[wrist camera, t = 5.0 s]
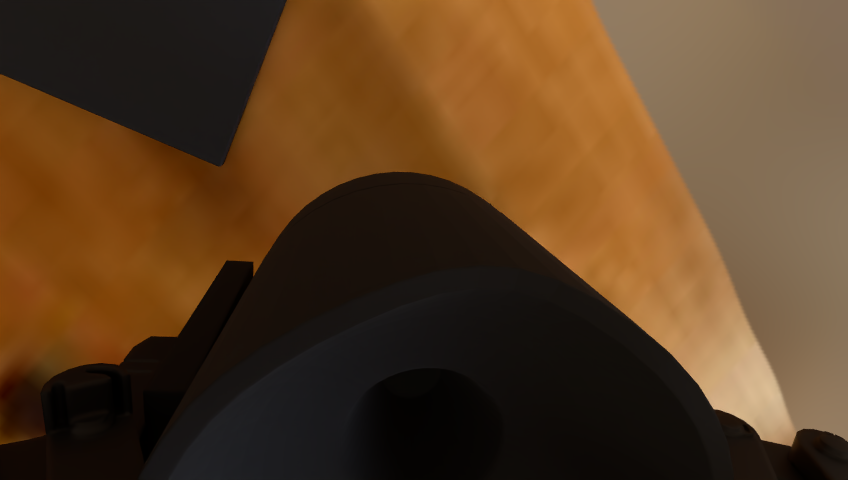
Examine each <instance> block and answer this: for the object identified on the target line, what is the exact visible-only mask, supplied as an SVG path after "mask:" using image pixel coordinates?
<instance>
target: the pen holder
mask: <svg viewBox="0 0 848 480" xmlns="http://www.w3.org/2000/svg"><path fill="white" fill-rule="evenodd" d="M137 480H734V472H733V466H732V461H731V455H730V450H729V445H728V442H727V439H726V437H725V434H724V432H723V429H722V427H721V424H720V421H719V419H718V416H717V414H716V413H715V411H714V409H713V408H712V406H711V405H710V403H709V401H708V400H707V398H706V396H705V395H704V393H703V392H702V390H701V388H700V387H699V385H698V384H697V383H696V382H695V381H694V380H693V378H692V377H691V376H690V375H689V374H688V373H687V372H686V370H685V369H684V368H683V367H682V366H681V365H680V364H679V362H678V361H677V360H676V359H675V358H674V357H673V356H672V355H671V354H670V353H669V352H668V351H667V350H666V349H665V348H663V347H662V346H661V345H660V344H659V343H658V342H656V341H655V340H654V339H653V338H652V337H651V336H649V335H648V334H647V333H646V332H645V331H644V330H642V329H641V328H640V327H639V326H638V325H637V324H636V323H634V322H633V321H632V320H631V319H630V318H628V317H627V316H626V315H625V314H624V313H622V312H621V311H620V310H619V309H618V308H616V307H615V306H614V305H613V304H611V303H610V302H609V301H608V300H607V299H605V298H604V297H603V296H602V295H601V294H599V293H598V292H597V291H596V290H595V289H593V288H592V287H591V286H590V285H589V284H587V283H586V282H585V281H584V280H583V279H581V278H580V277H579V276H578V275H576V274H575V273H574V272H573V271H572V270H570V269H569V268H568V267H567V266H566V265H564V264H563V263H562V262H561V261H560V260H558V259H557V258H556V257H555V256H554V255H552V254H551V253H550V252H549V251H547V250H546V249H545V248H544V247H543V246H541V245H540V244H539V243H538V242H537V241H535V240H534V239H533V238H532V237H530V236H529V235H528V234H527V233H526V232H524V231H523V230H522V229H521V228H520V227H518V226H517V225H516V224H515V223H514V222H512V221H511V220H510V219H509V218H507V217H506V216H505V215H504V214H502V213H501V212H499V211H498V210H497V209H495V208H494V207H493V206H492V205H490V204H489V203H488V202H486V201H485V200H484V199H482V198H481V197H479V196H477V195H476V194H474V193H473V192H471V191H469V190H468V189H466V188H464V187H462V186H460V185H457V184H455V183H453V182H451V181H448V180H445V179H442V178H438V177H435V176H432V175H425V174H419V173H413V172H389V173H379V174H373V175H368V176H364V177H360V178H356V179H353V180H351V181H348V182H346V183H343V184H340V185H338V186H336V187H334V188H333V189H331V190H329V191H327V192H325V193H323V194H322V195H320V196H319V197H317V198H316V199H315V200H313V201H312V202H310V203H309V204H308V205H306V206H305V207H304V208H303V209H302V210H301V211H300V212H299V213H298V214H297V215H296V216H295V217H294V218H293V219H292V220H291V221H290V222H289V224H288V225H287V226H286V227H285V229H284V230H283V231H282V232H281V234H280V235H279V237H278V238H277V240H276V241H275V243H274V244H273V246H272V247H271V249H270V251H269V252H268V254H267V255H266V256H265V258H264V260H263V261H262V263H261V265H260V266H259V268H258V270H257V271H256V273H255V275H254V277H253V278H252V280H251V282H250V283H249V285H248V287H247V289H246V290H245V292H244V294H243V295H242V297H241V299H240V301H239V302H238V304H237V306H236V308H235V309H234V311H233V313H232V314H231V316H230V318H229V320H228V321H227V323H226V325H225V326H224V328H223V330H222V332H221V333H220V335H219V337H218V338H217V340H216V342H215V344H214V345H213V347H212V349H211V350H210V352H209V354H208V356H207V357H206V359H205V361H204V363H203V364H202V366H201V368H200V369H199V371H198V373H197V375H196V376H195V378H194V380H193V381H192V383H191V385H190V387H189V388H188V390H187V392H186V393H185V395H184V397H183V399H182V400H181V402H180V404H179V406H178V407H177V409H176V411H175V412H174V414H173V416H172V418H171V419H170V421H169V423H168V424H167V426H166V428H165V430H164V431H163V433H162V435H161V436H160V438H159V440H158V442H157V443H156V445H155V447H154V449H153V450H152V452H151V454H150V456H149V457H148V459H147V461H146V463H145V464H144V466H143V468H142V470H141V472H140V474H139V476H138V479H137Z"/></svg>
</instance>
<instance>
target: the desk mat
mask: <svg viewBox="0 0 848 480" xmlns="http://www.w3.org/2000/svg"><path fill="white" fill-rule="evenodd" d="M285 3H286V0H0V74H2V75H5V76H7V77H9V78H12V79H14V80H16V81H19V82H21V83H24V84H26V85H28V86H31V87H33V88H35V89H38V90H40V91H42V92H45V93H47V94H49V95H52V96H54V97H56V98H59V99H61V100H64V101H66V102H68V103H71V104H73V105H75V106H78V107H80V108H82V109H85V110H87V111H89V112H92V113H94V114H96V115H99V116H101V117H103V118H106V119H108V120H111V121H113V122H115V123H118V124H120V125H122V126H125V127H127V128H129V129H132V130H134V131H136V132H139V133H141V134H143V135H146V136H148V137H151V138H153V139H155V140H158V141H160V142H162V143H165V144H167V145H169V146H172V147H174V148H176V149H179V150H181V151H183V152H186V153H188V154H190V155H193V156H195V157H198V158H200V159H202V160H205V161H207V162H209V163H212V164H214V165H216V166H221V165H223V164H224V161H225V159H226V156H227V153H228V151H229V148H230V146H231V143H232V140H233V138H234V135H235V133H236V130H237V128H238V125H239V122H240V120H241V117H242V115H243V112H244V109H245V107H246V104H247V102H248V99H249V96H250V94H251V91H252V89H253V86H254V83H255V81H256V78H257V76H258V73H259V70H260V68H261V65H262V63H263V60H264V58H265V55H266V52H267V50H268V47H269V45H270V42H271V39H272V37H273V34H274V32H275V29H276V26H277V24H278V21H279V19H280V16H281V13H282V11H283V8H284V6H285Z"/></svg>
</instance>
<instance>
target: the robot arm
mask: <svg viewBox="0 0 848 480" xmlns="http://www.w3.org/2000/svg"><path fill="white" fill-rule="evenodd" d="M252 278H253V262H246V261H226V262H225V264H224V266H223V267H222V269H221V270H220V272H219V273H218V275H217V276H216V278H215V280H214V281H213V283H212V284H211V286H210V287H209V289H208V291H207V292H206V294H205V295H204V297H203V298H202V300H201V301H200V303H199V305H198V306H197V308H196V309H195V311H194V312H193V314H192V315H191V317H190V319H189V320H188V322H187V323H186V325H185V326H184V328H183V330H182V331H181V333H180V334H179V336H178V337H157V336H151V337H149V338H148V339H146V340H144V341H143V342H141V343H139V344H138V345H136V346H134V347H133V348H132V350H131V351H130V352H129V354H128V355H127V356H126V358H125V359H124V362H122V363H121V364H120V365H119V366H118V365H115V364H105V363H98V364H89V365H83V366H79V367H75V368H72V369H68V370H66V371H64V372H62V373H60V374H58V375H56V376H54V377H53V378H51V379H50V380H49V381H48V382H47V383H45V384H44V386H43V388H42V391H41V401H42V408H43V415H44V423H45V430H46V435H44V436H41V437H37V438H33V439H29V440H24V441H18V442H13V443H8V444H2V445H0V480H137V479H138V476H139V474H140V472H141V470H142V468H143V466H144V464H145V463H146V461H147V459H148V457H149V456H150V454H151V452H152V450H153V449H154V447H155V445H156V443H157V442H158V440H159V438H160V436H161V435H162V433H163V431H164V430H165V428H166V426H167V424H168V423H169V421H170V419H171V418H172V416H173V414H174V412H175V411H176V409H177V407H178V406H179V404H180V402H181V400H182V399H183V397H184V395H185V393H186V392H187V390H188V388H189V387H190V385H191V383H192V381H193V380H194V378H195V376H196V375H197V373H198V371H199V369H200V368H201V366H202V364H203V363H204V361H205V359H206V357H207V356H208V354H209V352H210V350H211V349H212V347H213V345H214V344H215V342H216V340H217V338H218V337H219V335H220V333H221V332H222V330H223V328H224V326H225V325H226V323H227V321H228V320H229V318H230V316H231V314H232V313H233V311H234V309H235V308H236V306H237V304H238V302H239V301H240V299H241V297H242V295H243V294H244V292H245V290H246V289H247V287H248V285H249V283H250V282H251V280H252ZM714 411H715V413H716V414H717V416H718V419H719V421H720V424H721V427H722V429H723V432H724V434H725V437H726V439H727V442H728V445H729V450H730V455H731V461H732V466H733V472H734V480H848V442H847V441H845V439H843V438H842V437H840V436H837V435H833V434H832V433H829V432H826V431H825V432H823V431H819V430H814V429H803V430H800V431H798V432H797V434H796V436H795V439H794V441H793V444H792V447H791V446H786V445H782V444H777V443H773V442H768V441H763V440H761V439H760V436H759V435H758V434H757V432H756V431H755V430H754V428H752V427H751V426H750V425H749V424H747V423H746V422H745V421H743V420H741V419H739V418H738V417H736V416H734V415H732V414H729V413H726V412H723V411H720V410H715V409H714Z"/></svg>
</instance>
